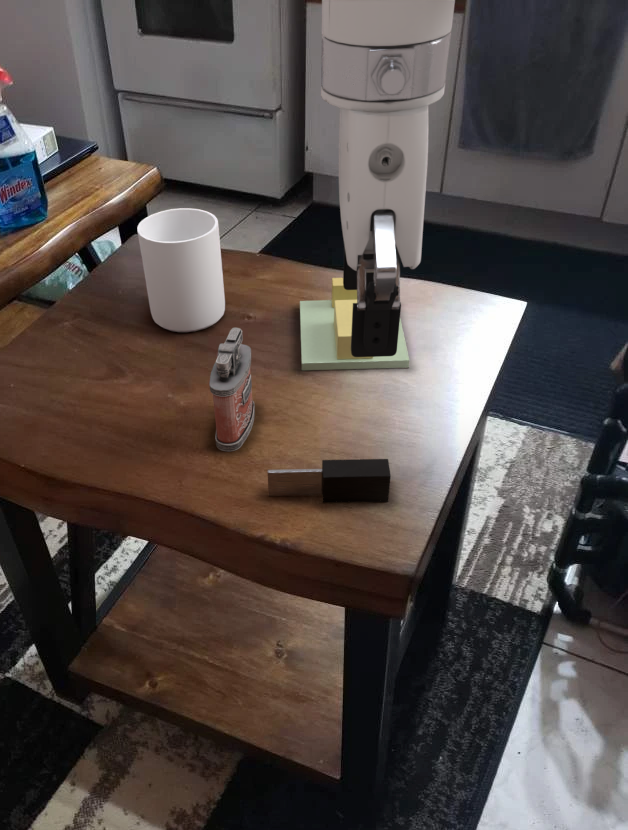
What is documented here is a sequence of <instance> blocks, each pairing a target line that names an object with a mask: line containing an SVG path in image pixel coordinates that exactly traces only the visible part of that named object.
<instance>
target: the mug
mask: <svg viewBox="0 0 628 830" xmlns="http://www.w3.org/2000/svg"><path fill="white" fill-rule="evenodd" d="M136 227H137V237H138V243H139V249H140V256H141V261H142V267H143V275H144V280H145V285H146V292H147V299H148V304H149V310H150V314H151V318H152V320H153V321H154V323H155V324H156V325H158V326H159V327H161V328H162V329H165V330H167V331H171V332H174V333H175V332H177V333H193V332H198V331H203V330H205V329H207V328H210V327H212V326H214V325H215V324H216V323H217V322H219V321H220V319H221V318H222V317H223V316H224V314H225V311H226V297H225V286H224V275H223V262H222V252H221V239H220V229H219V228H220V225H219V219H218V218H217V216H216V215H215V214H214V213H211V212H209V211H207V210H203V209H199V208H193V207H192V208H191V207H189V208H188V207H184V208H183V207H181V208H171V209H170V208H169V209H165V210H161V211H158V212H155V213H152V214H150V215H148V216H147V217H145V218H143V219H141V221H140V222H139V223H138V225H137V226H136Z"/></svg>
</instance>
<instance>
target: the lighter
mask: <svg viewBox="0 0 628 830" xmlns="http://www.w3.org/2000/svg"><path fill="white" fill-rule="evenodd" d="M243 337H244V336H243V330H242V329H241V327H232V328H231V329H230V330H229V332H228V335H227V337H226V339H225V341H224V343H219V345H218V349H217V358H216V360H215V362H214V363H213V365H212V369H211V372H210V376H209V383H208V384H209V391H210V393H211V394H212V400H213V401H212V402H213V411H214V419H215V445H216V447H217V449H218V450H220V451H223V452H234V451H237V450H239V449H240V448H241V447H242V446H243V444H244V443H245V442H246V440H247V439H248V437H249V435H250V433H251V431H252V430H253V425H254V421H255V411H256V410H255V409H256V407H255V401H254V400H253V391H252V387H253V384H252V374H251V365H252V349H251V347H250V346H249V345H247V344H243V340H244V338H243Z"/></svg>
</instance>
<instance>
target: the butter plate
mask: <svg viewBox="0 0 628 830" xmlns="http://www.w3.org/2000/svg"><path fill="white" fill-rule="evenodd" d="M402 323H403V322H402V319H401V318H400V322H399V333H398V343H397V352H396V354H395V355H393V356H382V357H373V358H369V359H337V352H336V341H335V330H334V308H332V300H331V299H321V300H319V299H318V300H299V325H300V362H301V363H300V364H301V371H328V370H329V371H333V370H369V369H371V370H372V369H373V370H374V369H405V368H406V369H407V368H408V369H409V367H410V357H409V352H408V347H407V343H406V339H405V333H404V329H403V324H402Z"/></svg>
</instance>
